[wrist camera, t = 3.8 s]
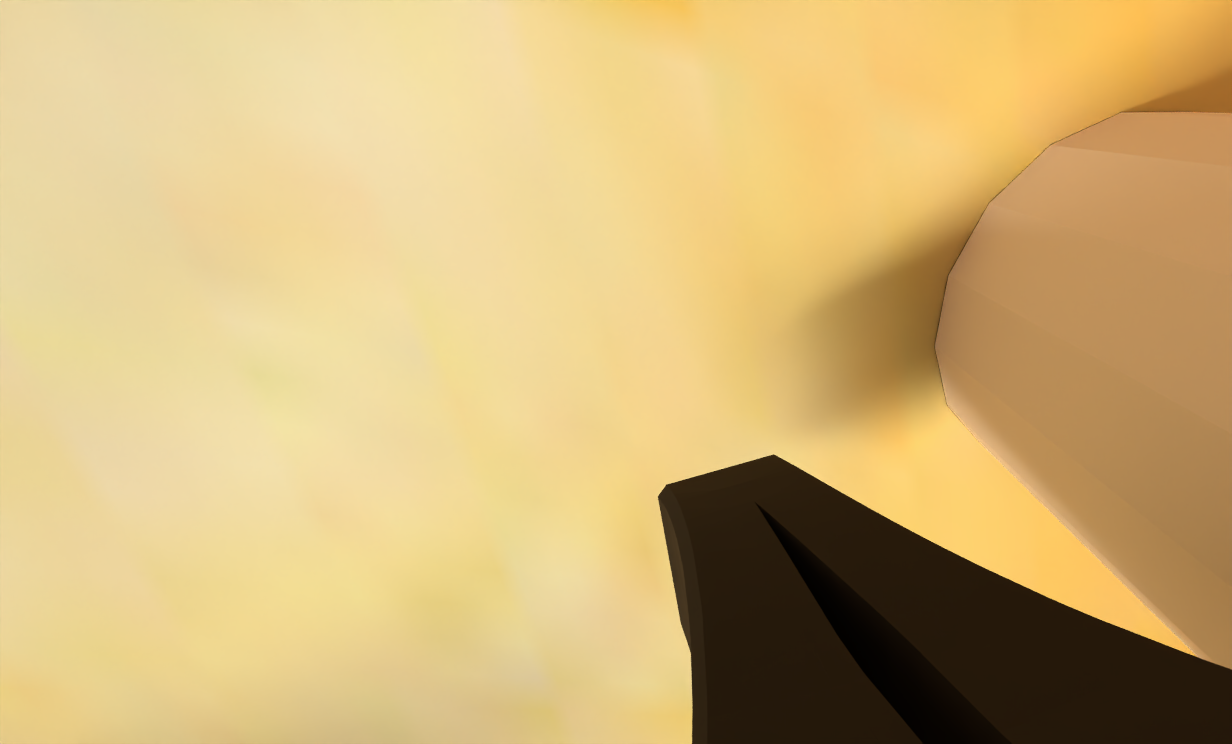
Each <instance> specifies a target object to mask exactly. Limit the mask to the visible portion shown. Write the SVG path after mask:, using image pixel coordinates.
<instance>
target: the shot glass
mask: <svg viewBox="0 0 1232 744" xmlns="http://www.w3.org/2000/svg"><path fill="white" fill-rule="evenodd" d="M935 350H936V355H937V359H938V364H939V369H940V374H941V378H942V383H943V388H944V392H945V397H946V402H947V406H948V407H949V408H950V409H951V410H952V411H953V412H954V414H955V415H956V416H957V417H958V418H959V419H960V421H961V422H962V423H963V424H964V425H965V426H966V427H967V429H968V430H969V431H970V432H971V433H972V434H973V435H974V437H975V438H976V439H977V440H978V441H979V442H980V444H981V445H982V446H983V447H984V448H985V449H986V450H987V451H988V452H989V453H991V454H992V455H993V456H994V457H995V458H996V459H997V460H998V461H999V462H1000V463H1001V464H1002V465H1003V466H1004V467H1005V468H1006V469H1007V470H1008V471H1009V472H1010V473H1011V474H1012V475H1013V476H1014V477H1015V478H1016V479H1017V480H1018V481H1019V482H1020V483H1021V484H1022V485H1023V486H1024V487H1025V488H1026V489H1027V490H1028V491H1029V492H1030V493H1031V494H1032V495H1033V496H1034V497H1035V498H1036V499H1037V500H1038V501H1039V502H1040V503H1041V504H1042V505H1043V506H1045V507H1046V508H1047V509H1048V510H1049V511H1050V512H1051V513H1052V514H1053V515H1054V516H1055V517H1056V518H1057V519H1058V520H1059V521H1060V522H1061V523H1062V524H1063V525H1064V526H1065V527H1066V528H1067V529H1068V530H1069V531H1070V532H1071V533H1072V534H1073V535H1074V536H1075V537H1076V538H1077V539H1078V540H1079V541H1080V542H1081V543H1082V544H1083V545H1084V546H1085V547H1086V548H1087V549H1088V550H1089V551H1090V552H1091V553H1092V554H1093V555H1094V556H1095V557H1096V558H1097V559H1099V560H1100V561H1101V562H1102V563H1103V564H1104V565H1105V566H1106V567H1107V568H1108V569H1109V570H1110V571H1111V572H1112V573H1113V574H1114V575H1115V576H1116V577H1117V578H1118V579H1119V580H1120V581H1121V582H1122V583H1123V584H1124V585H1125V586H1126V587H1127V588H1128V589H1129V590H1130V591H1131V592H1132V593H1133V594H1134V595H1135V596H1136V597H1137V598H1138V599H1139V600H1140V601H1141V602H1142V603H1143V604H1144V605H1145V606H1146V607H1147V608H1148V609H1149V610H1150V611H1152V612H1153V613H1154V614H1155V615H1156V616H1157V617H1158V618H1159V619H1160V620H1161V621H1162V622H1163V623H1164V624H1165V625H1166V626H1167V627H1168V628H1169V629H1170V630H1171V631H1172V632H1173V633H1174V634H1175V635H1176V636H1177V637H1178V638H1179V639H1180V640H1181V641H1182V642H1183V643H1184V644H1185V645H1186V646H1187V647H1188V648H1189V649H1190V650H1191V651H1192V652H1193V653H1194V654H1195V655H1196V656H1197V657H1198V658H1201V659H1204V660H1206V661H1209V662H1212V663H1215V664H1218V665H1221V666H1223V667H1226V668H1229V669H1232V113H1213V112H1121V113H1119V114H1117V115H1115V116H1112V117H1110V118H1108V119H1106V120H1104V121H1102V122H1099V123H1097V124H1095V125H1093V126H1091V127H1089V128H1086V129H1084V130H1082V131H1080V132H1078V133H1076V134H1073V135H1071V136H1069V137H1067V138H1065V139H1063V140H1060V141H1058V142H1056V143H1054V144H1052V145H1050V146H1049V147H1048V148H1047V149H1046V150H1045V151H1044V152H1043V153H1042V154H1041V155H1039V156H1038V157H1037V158H1036V159H1035V160H1034V161H1033V162H1032V163H1031V164H1030V165H1029V166H1028V167H1027V168H1026V169H1025V170H1024V171H1023V172H1022V173H1021V174H1019V175H1018V176H1017V177H1016V178H1015V179H1014V180H1013V181H1012V182H1011V183H1010V184H1009V185H1008V186H1007V187H1006V188H1005V189H1004V190H1003V191H1002V192H1001V193H1000V194H998V195H997V196H996V197H995V198H994V199H993V200H992V201H991V202H990V203H989V204H988V206H987V208H986V210H985V211H984V213H983V215H982V217H981V219H980V220H979V222H978V224H977V226H976V227H975V229H974V231H973V233H972V235H971V236H970V238H969V240H968V242H967V243H966V245H965V247H964V249H963V250H962V252H961V254H960V256H959V258H958V259H957V261H956V263H955V265H954V266H953V268H952V270H951V272H950V274H949V275H948V280H947V286H946V291H945V296H944V301H943V306H942V311H941V317H940V322H939V327H938V332H937V337H936V343H935Z"/></svg>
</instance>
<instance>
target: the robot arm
mask: <svg viewBox="0 0 1232 744" xmlns="http://www.w3.org/2000/svg"><path fill="white" fill-rule="evenodd" d="M658 500H659V505H660V511H661V516H662V522H663V527H664V533H665V538H666V544H667V549H668V555H669V560H670V566H671V571H672V577H673V582H674V588H675V593H676V599H677V604H678V610H679V615H680V621H681V625H682V628H683V631H684V633H685V636H686V639H687V642H688V645H689V648H690V652H691V668H692V700H693V720H692V744H1232V669H1229V668H1226V667H1223V666H1221V665H1218V664H1215V663H1212V662H1209V661H1206V660H1204V659H1201V658H1198V657H1195V656H1192V655H1190V654H1187V653H1185V652H1182V651H1179V650H1177V649H1174V648H1172V647H1169V646H1166V645H1164V644H1161V643H1159V642H1156V641H1154V640H1151V639H1148V638H1146V637H1143V636H1141V635H1138V634H1136V633H1133V632H1130V631H1128V630H1125V629H1123V628H1120V627H1117V626H1115V625H1112V624H1110V623H1107V622H1105V621H1102V620H1099V619H1097V618H1095V617H1092V616H1090V615H1087V614H1085V613H1083V612H1080V611H1078V610H1076V609H1073V608H1071V607H1069V606H1066V605H1064V604H1061V603H1059V602H1057V601H1055V600H1052V599H1050V598H1048V597H1046V596H1044V595H1041V594H1039V593H1037V592H1035V591H1033V590H1031V589H1028V588H1026V587H1024V586H1022V585H1020V584H1018V583H1015V582H1013V581H1011V580H1009V579H1007V578H1005V577H1002V576H1000V575H998V574H996V573H994V572H992V571H989V570H987V569H985V568H983V567H981V566H979V565H977V564H975V563H973V562H971V561H969V560H967V559H965V558H963V557H961V556H959V555H957V554H955V553H953V552H951V551H949V550H947V549H945V548H943V547H941V546H939V545H937V544H935V543H933V542H931V541H929V540H927V539H925V538H923V537H921V536H920V535H918V534H916V533H914V532H912V531H910V530H908V529H906V528H904V527H903V526H901V525H899V524H897V523H895V522H893V521H891V520H890V519H888V518H886V517H884V516H882V515H880V514H879V513H877V512H875V511H873V510H871V509H870V508H868V507H866V506H864V505H862V504H861V503H859V502H857V501H855V500H854V499H852V498H850V497H848V496H846V495H845V494H843V493H841V492H839V491H838V490H836V489H834V488H832V487H831V486H829V485H827V484H825V483H824V482H822V481H820V480H818V479H817V478H815V477H813V476H811V475H810V474H808V473H806V472H804V471H803V470H801V469H799V468H797V467H796V466H794V465H792V464H790V463H789V462H787V461H785V460H783V459H781V458H779V457H778V456H776V455H770V456H767V457H763V458H760V459H756V460H753V461H749V462H746V463H742V464H739V465H735V466H731V467H728V468H724V469H721V470H717V471H714V472H710V473H707V474H703V475H700V476H696V477H692V478H689V479H685V480H682V481H678V482H675V483H671V484H668V485H666V486H665V488H664V489H663V490H662V492H661V493H660V494H659V496H658Z"/></svg>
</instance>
